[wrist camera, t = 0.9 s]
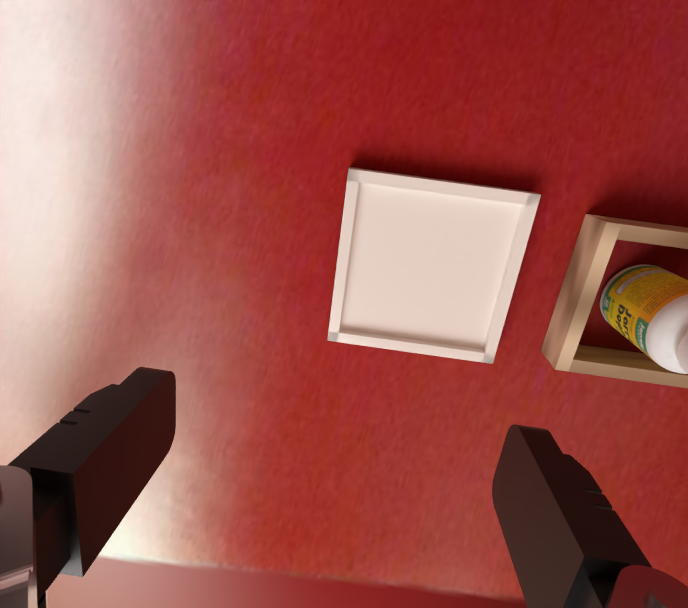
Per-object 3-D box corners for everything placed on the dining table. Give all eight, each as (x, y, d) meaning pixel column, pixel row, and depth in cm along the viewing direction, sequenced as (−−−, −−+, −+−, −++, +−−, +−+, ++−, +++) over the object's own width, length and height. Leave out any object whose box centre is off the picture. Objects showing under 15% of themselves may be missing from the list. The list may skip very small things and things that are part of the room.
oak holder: (585, 213, 31) (606, 222, 29) (741, 234, 31) (777, 245, 28) (540, 350, 35) (555, 369, 33) (678, 369, 35) (704, 390, 32)
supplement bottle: (683, 305, 33) (797, 369, 24) (614, 340, 35) (697, 414, 26) (655, 248, 32) (764, 294, 23) (584, 287, 33) (661, 345, 24)
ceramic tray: (349, 166, 31) (348, 168, 30) (533, 191, 31) (541, 194, 30) (329, 332, 36) (327, 340, 35) (488, 354, 36) (492, 363, 34)
